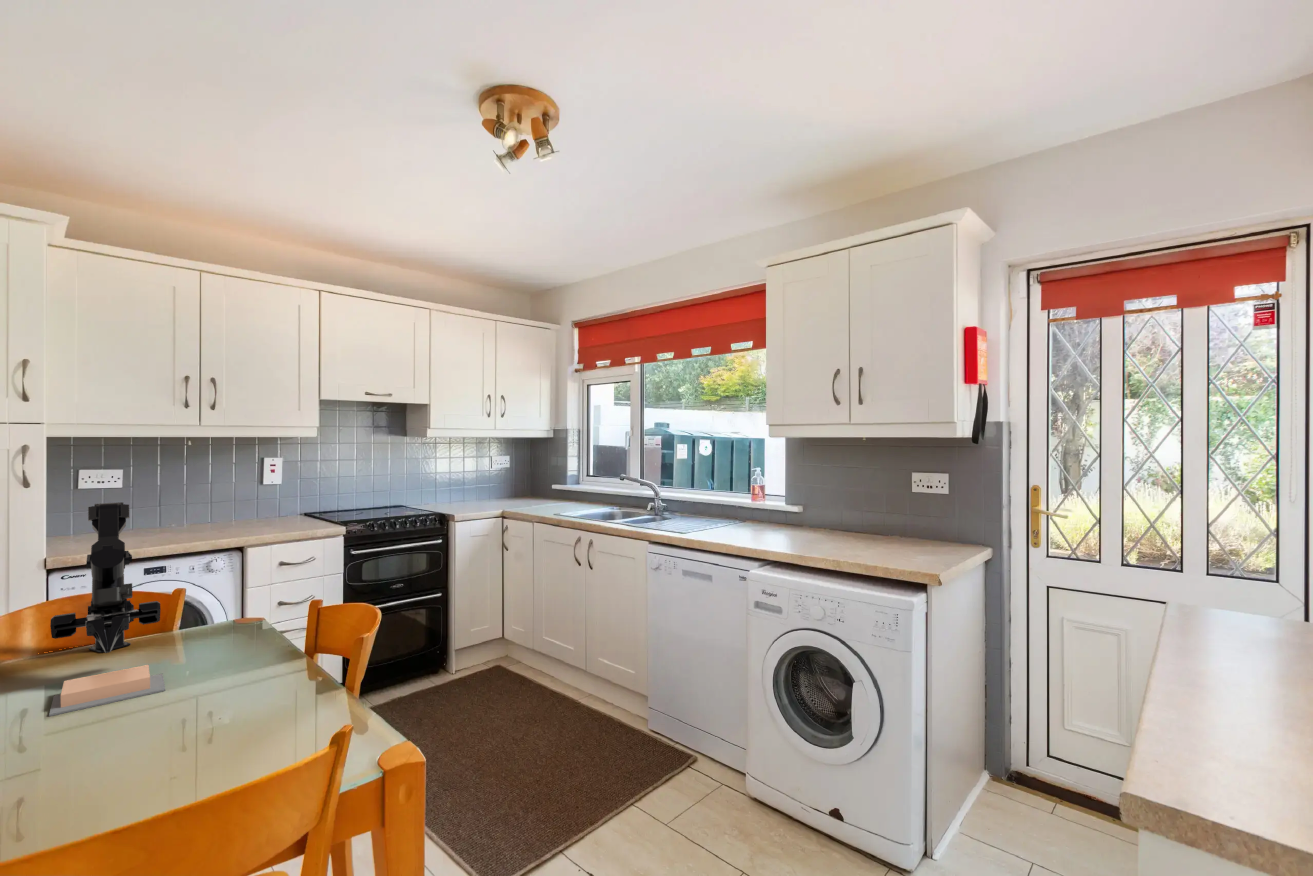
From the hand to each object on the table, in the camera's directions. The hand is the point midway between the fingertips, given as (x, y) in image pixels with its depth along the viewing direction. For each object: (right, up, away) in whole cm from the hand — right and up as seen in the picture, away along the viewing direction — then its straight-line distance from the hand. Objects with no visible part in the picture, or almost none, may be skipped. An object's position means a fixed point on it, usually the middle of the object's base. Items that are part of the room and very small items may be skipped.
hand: (107, 651), depth 136 cm
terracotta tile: (0, -6, 0) cm, 6 cm away
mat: (+5, -7, -5) cm, 10 cm away
